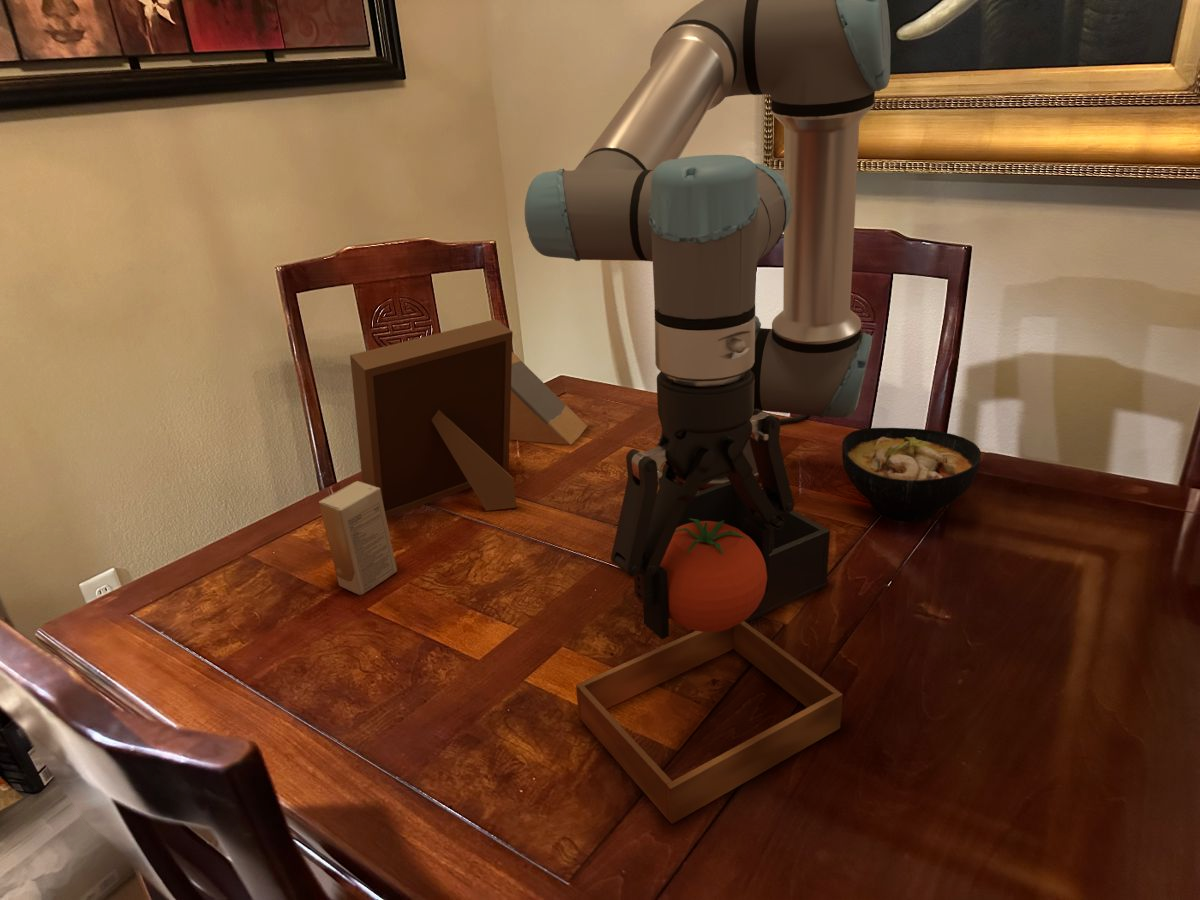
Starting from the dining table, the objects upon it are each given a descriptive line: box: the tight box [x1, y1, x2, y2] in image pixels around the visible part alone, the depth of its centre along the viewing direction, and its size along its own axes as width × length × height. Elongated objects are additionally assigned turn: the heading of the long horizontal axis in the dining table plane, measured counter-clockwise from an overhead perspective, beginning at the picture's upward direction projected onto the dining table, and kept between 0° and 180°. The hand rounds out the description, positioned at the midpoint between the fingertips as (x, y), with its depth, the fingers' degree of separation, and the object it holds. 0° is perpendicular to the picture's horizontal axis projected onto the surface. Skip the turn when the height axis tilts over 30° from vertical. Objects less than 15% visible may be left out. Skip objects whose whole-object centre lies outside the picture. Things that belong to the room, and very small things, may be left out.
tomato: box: [660, 519, 767, 632], centre depth 73 cm, size 10×10×10 cm
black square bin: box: [646, 481, 831, 624], centre depth 100 cm, size 17×17×8 cm
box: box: [575, 621, 844, 825], centre depth 78 cm, size 19×15×4 cm
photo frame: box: [349, 318, 517, 519], centre depth 117 cm, size 15×22×25 cm
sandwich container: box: [510, 351, 588, 446], centre depth 142 cm, size 9×15×15 cm, turn 71°
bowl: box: [841, 427, 982, 523], centre depth 112 cm, size 17×17×10 cm
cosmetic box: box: [318, 480, 398, 596], centre depth 103 cm, size 6×4×12 cm
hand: (707, 607), depth 74 cm, fingers closed on tomato, 10 cm apart
